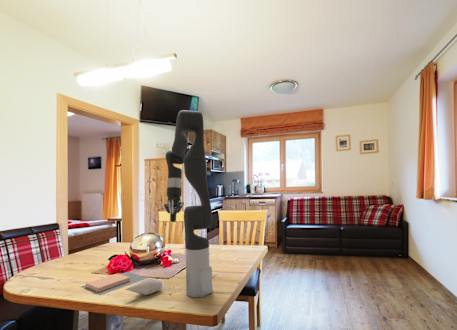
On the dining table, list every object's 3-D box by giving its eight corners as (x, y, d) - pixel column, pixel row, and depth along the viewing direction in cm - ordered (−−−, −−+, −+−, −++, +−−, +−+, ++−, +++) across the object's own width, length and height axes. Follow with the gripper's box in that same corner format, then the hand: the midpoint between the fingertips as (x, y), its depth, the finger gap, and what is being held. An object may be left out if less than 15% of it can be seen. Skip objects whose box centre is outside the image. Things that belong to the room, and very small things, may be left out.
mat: (148, 278, 120) (148, 277, 120) (99, 296, 102) (99, 295, 102) (127, 272, 129) (127, 271, 129) (80, 287, 112) (80, 286, 112)
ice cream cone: (122, 301, 97) (159, 295, 107) (129, 294, 94) (166, 288, 104) (120, 285, 100) (156, 281, 110) (127, 277, 98) (163, 273, 108)
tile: (129, 277, 116) (98, 288, 105) (130, 281, 116) (98, 292, 105) (117, 273, 122) (85, 283, 111) (117, 277, 122) (85, 287, 111)
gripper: (160, 188, 139) (158, 222, 134) (177, 184, 131) (176, 220, 126) (171, 190, 145) (170, 222, 140) (188, 187, 137) (187, 221, 132)
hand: (173, 221), depth 133 cm, fingers closed
